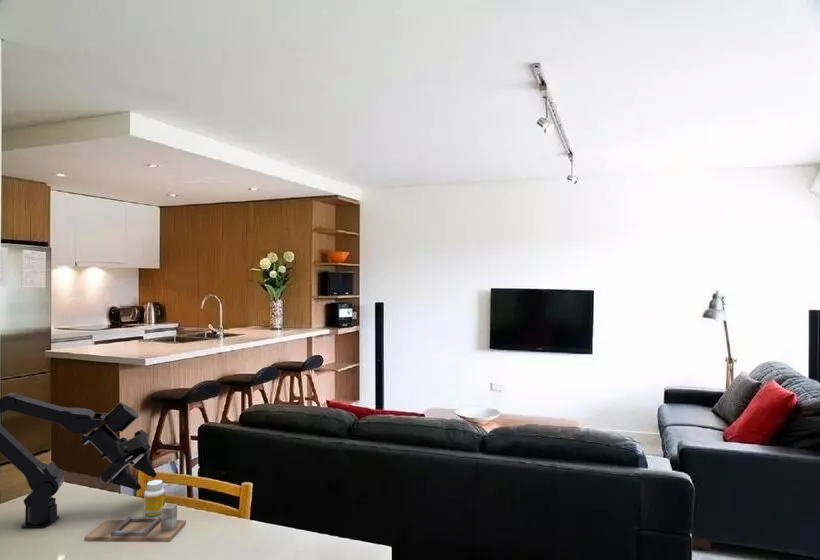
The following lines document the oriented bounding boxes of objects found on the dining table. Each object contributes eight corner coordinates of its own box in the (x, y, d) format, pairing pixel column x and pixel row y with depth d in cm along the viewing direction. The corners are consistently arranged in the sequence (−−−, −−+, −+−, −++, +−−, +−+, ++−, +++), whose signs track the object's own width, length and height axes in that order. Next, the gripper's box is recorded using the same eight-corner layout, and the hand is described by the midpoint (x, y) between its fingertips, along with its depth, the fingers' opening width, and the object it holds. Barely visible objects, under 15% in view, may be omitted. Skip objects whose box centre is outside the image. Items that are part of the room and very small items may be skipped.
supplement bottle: (141, 514, 154) (142, 481, 154) (161, 509, 157) (162, 477, 157) (146, 521, 149) (146, 487, 149) (166, 516, 153) (167, 482, 153)
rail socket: (84, 540, 138) (84, 513, 138) (106, 523, 148) (106, 498, 148) (170, 541, 138) (170, 514, 138) (185, 523, 148) (186, 498, 148)
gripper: (111, 433, 144) (152, 474, 144) (144, 415, 162) (181, 452, 163) (81, 463, 144) (123, 504, 144) (118, 441, 162) (155, 478, 163)
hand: (147, 482), depth 153 cm, fingers open, 9 cm apart
